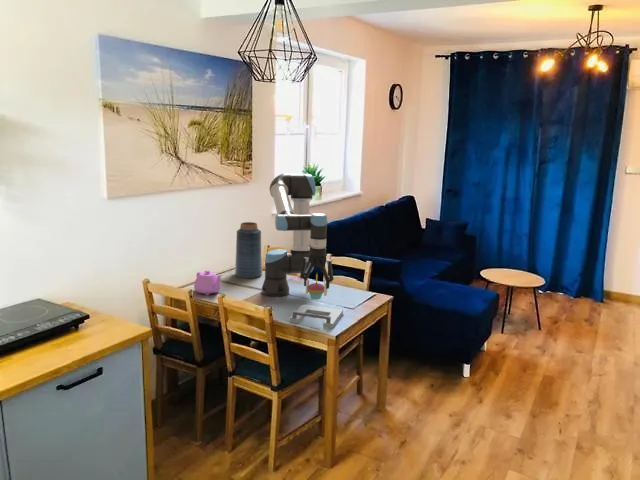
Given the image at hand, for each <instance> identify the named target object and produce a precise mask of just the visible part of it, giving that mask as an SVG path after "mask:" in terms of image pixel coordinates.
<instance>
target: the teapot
mask: <svg viewBox="0 0 640 480" xmlns="http://www.w3.org/2000/svg"><path fill="white" fill-rule="evenodd" d="M195 276H196V279H195V280H194V284H193V288H194V290H195V291H196V292H197V293H198V294H204V296H210V294H217V293H218V292H219V291H220V290H221V287H222V283H221V277H222V276H223V275H222V274H220V275H217V274H216V273H215V272H214V271H211V270H209V269H207V270H204V271H203V272H201V271H199V272H196V275H195Z"/></svg>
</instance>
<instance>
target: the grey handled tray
mask: <svg viewBox="0 0 640 480" xmlns="http://www.w3.org/2000/svg"><path fill="white" fill-rule="evenodd" d="M291 313H292V315H291V316H290V317H289V318H288V322H289V323H294V324H299V323H300V322H301V321H302V320H303V319H304V318H305V317H309V318H314V319H323V320H324V321H323V322H322V327H323V328H329V329H333V328H334V326H335V325H336V324H337V322H338V321H339V320H340V319H341V317H342V316H343V315H344V309H340V308H332V307H325V306H319V305H318V306H316V305H313V304H311V305H310V304H301V306H299V307H298V308H297V309H296V310H293V311H292V312H291Z"/></svg>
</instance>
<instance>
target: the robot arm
mask: <svg viewBox="0 0 640 480" xmlns="http://www.w3.org/2000/svg"><path fill="white" fill-rule="evenodd" d="M316 188H317V187H316V181H315V178H314V176H313V175H312V174H310V173H280V174H279V175H277V176H276V177H275V178H273V179H272V181H271V182H270V186H269V193H270V196H271V197H272V198H273V201H274V205H275V209H276V213H277V214H276V216H275V218H274V224H275V230H276V231H283V232H286V231H291V232H292V231H293V234H292V235H293V238H292V239H293V245H292V247H290V252H288V251H287V249H284V248H283V249H282V248H281V249H280V248H278V249H272V250H269V251H267V252H266V253H265V256H264V257H265V258H264V264H265V267H264V280H263V283H262V287H261V293H262V295H264V296H268V297H285V296H287V295H289V294H290V286H289V283H288V280H287V275H289V274H290V275H292V274H293V275H294V274H297V275H299V274H300V279H302V280H303V286H304V287H305V294H307V295H308V294H309V292H308V290H307V289H308V286H309V285H310V278H309V276H310V274H311V273H312V272H313V271H314V268H315V267H316V268H320V271H321V273H322V275H323V277H324V285H323V286H324V293H323V296H324V297H326V296H327V295H328V289H330V284H331V283H332V282H333V281H334V272H333V265H332V264H333V259H327V255H326V254H327V248H326V247H327V230H328V229H327V228H328V216H327V214H325V213H320V212H319V213H318V212H316V213H315V212H314V213H313V212H312V213H310V202H311V201H312V199H313V197H314V196H315V195H316V192H317V191H316ZM289 196H290V197H289ZM291 201H292V203H293V207H292V204H291ZM325 263H326V264H325ZM325 265H327V269H328V270H327V269H326V266H325Z"/></svg>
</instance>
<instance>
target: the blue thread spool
mask: <svg viewBox="0 0 640 480" xmlns="http://www.w3.org/2000/svg"><path fill="white" fill-rule="evenodd" d="M235 243H236V245H235V264H234V265H235V266H234V273H235V276H236V277H238V278H242V279H254V278H255V279H256V278H259V277H261V276H262V275H263V256H262V253H263V251H262V249H263V248H262V231H261V230H260V229H259V228H258V223H256V222H252V221H246V222H241V223H240V228H238V229H237V230H236V242H235Z"/></svg>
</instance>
